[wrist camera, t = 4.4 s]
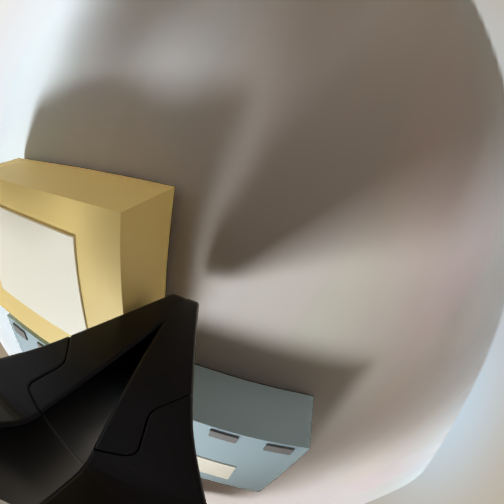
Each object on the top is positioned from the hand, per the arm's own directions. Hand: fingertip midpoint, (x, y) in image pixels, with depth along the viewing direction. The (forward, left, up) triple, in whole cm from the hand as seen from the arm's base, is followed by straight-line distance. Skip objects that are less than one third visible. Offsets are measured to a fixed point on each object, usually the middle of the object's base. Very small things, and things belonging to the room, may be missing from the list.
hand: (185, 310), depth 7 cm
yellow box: (0, +5, -1) cm, 5 cm away
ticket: (-7, +2, -1) cm, 8 cm away
